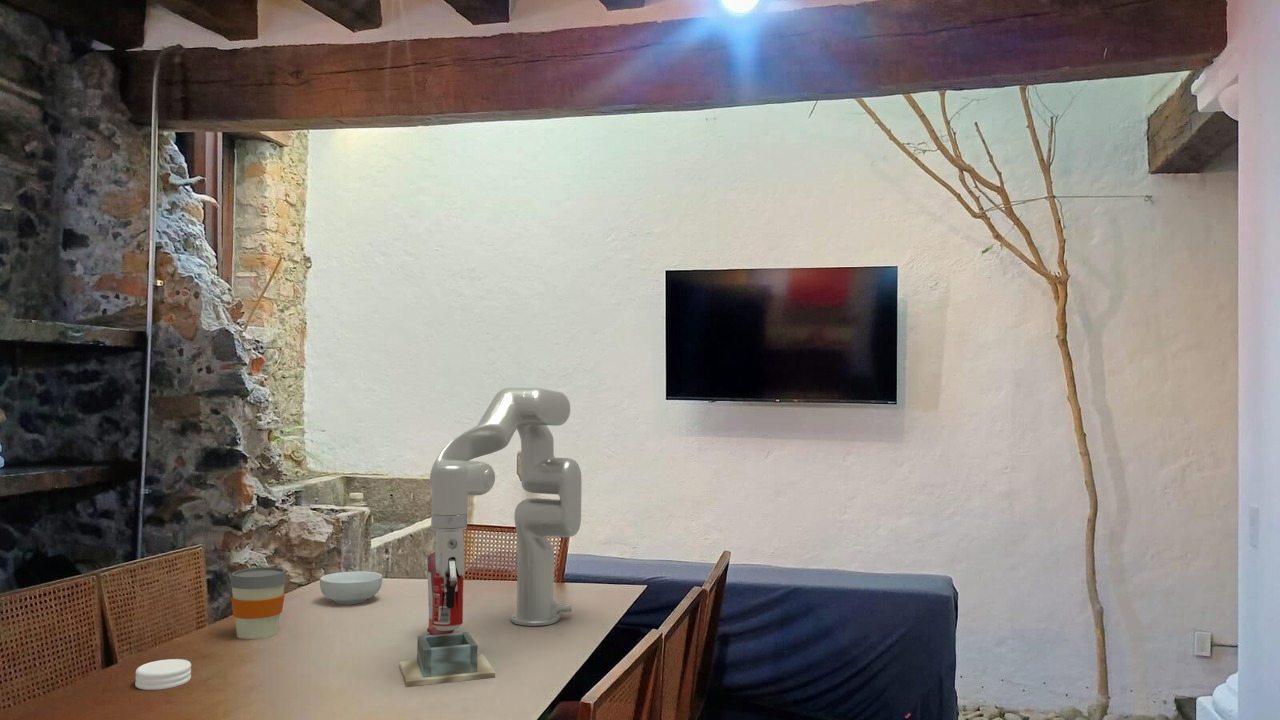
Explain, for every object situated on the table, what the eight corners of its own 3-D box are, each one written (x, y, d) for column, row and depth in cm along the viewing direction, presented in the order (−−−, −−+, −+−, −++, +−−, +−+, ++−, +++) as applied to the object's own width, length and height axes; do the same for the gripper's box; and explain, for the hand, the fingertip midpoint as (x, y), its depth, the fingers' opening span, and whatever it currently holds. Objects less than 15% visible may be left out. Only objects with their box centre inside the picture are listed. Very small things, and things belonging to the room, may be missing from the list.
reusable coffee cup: (294, 634, 214) (295, 572, 215) (242, 644, 205) (243, 579, 206) (271, 624, 223) (272, 564, 223) (220, 634, 214) (222, 571, 214)
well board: (482, 658, 197) (483, 628, 197) (495, 677, 183) (495, 645, 184) (399, 666, 190) (400, 635, 190) (406, 686, 177) (407, 654, 177)
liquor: (448, 640, 211) (451, 522, 212) (420, 637, 212) (422, 521, 213) (461, 631, 218) (463, 518, 219) (433, 630, 219) (435, 517, 220)
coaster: (132, 694, 172) (132, 675, 172) (137, 678, 181) (138, 661, 181) (189, 687, 176) (190, 669, 176) (192, 672, 185) (192, 655, 185)
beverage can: (467, 626, 188) (468, 569, 189) (452, 632, 182) (454, 573, 183) (441, 624, 190) (443, 568, 191) (426, 630, 184) (427, 572, 185)
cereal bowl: (394, 599, 251) (395, 574, 251) (346, 611, 237) (347, 585, 237) (354, 592, 260) (355, 567, 260) (306, 603, 246) (307, 577, 246)
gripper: (474, 526, 181) (472, 615, 180) (460, 516, 197) (458, 598, 196) (437, 528, 179) (434, 618, 178) (426, 517, 195) (424, 600, 194)
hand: (447, 606), depth 187 cm, fingers closed on beverage can, 5 cm apart
